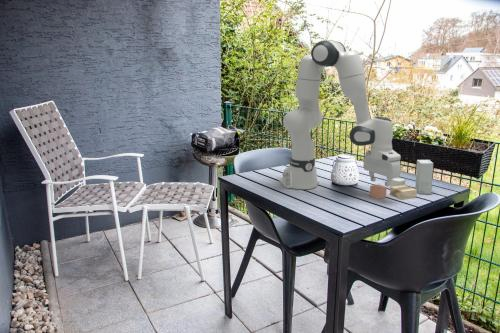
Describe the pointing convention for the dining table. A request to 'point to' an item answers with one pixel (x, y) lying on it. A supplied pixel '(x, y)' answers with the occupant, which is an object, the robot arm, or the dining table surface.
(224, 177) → the dining table surface
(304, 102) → the robot arm
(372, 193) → the terracotta cube
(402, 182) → the offwhite cube
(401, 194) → the beech base
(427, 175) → the skincare box
